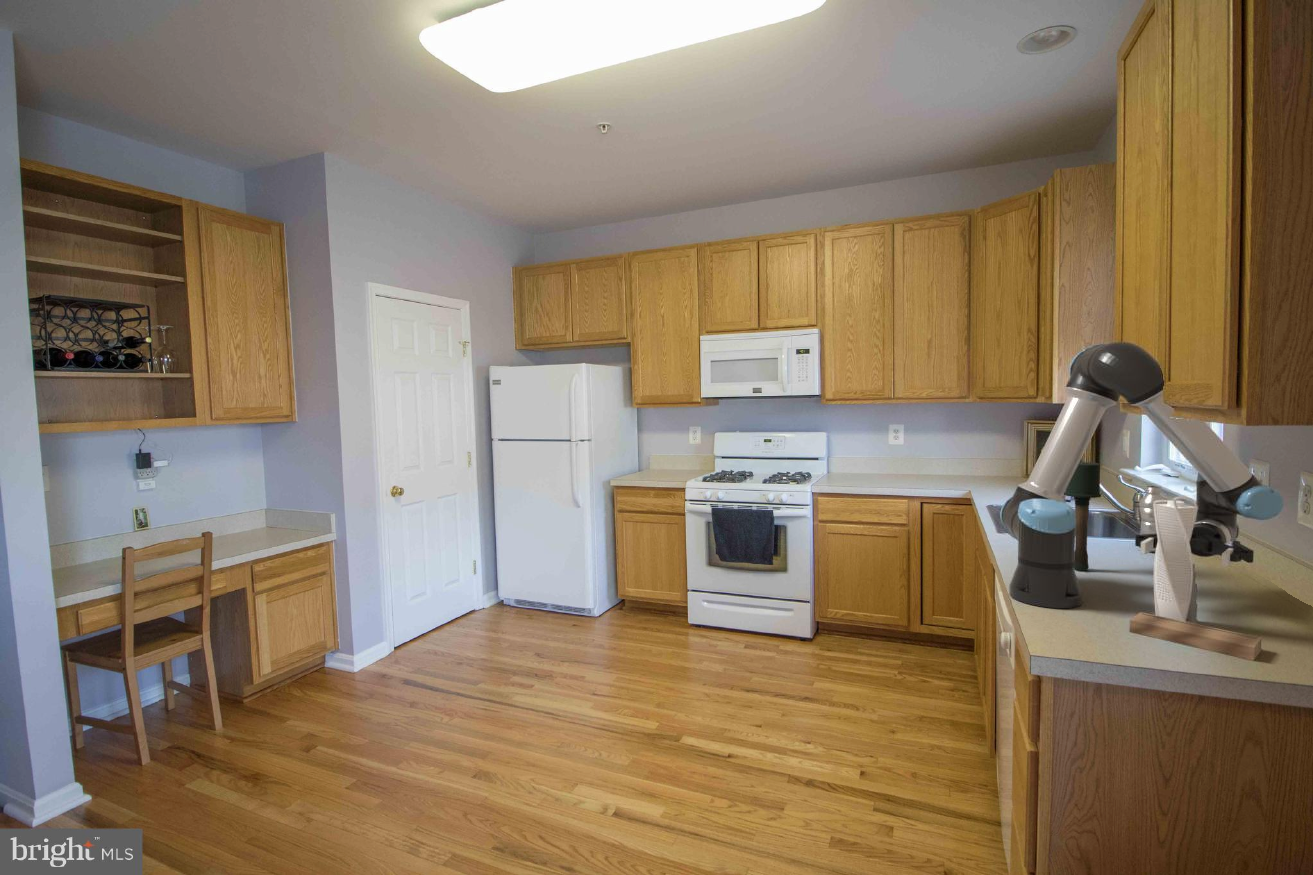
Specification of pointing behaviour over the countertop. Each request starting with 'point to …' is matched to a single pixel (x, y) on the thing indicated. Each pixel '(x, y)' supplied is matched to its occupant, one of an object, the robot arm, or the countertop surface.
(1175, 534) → the skyscraper
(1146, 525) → the ribbed metallic bottle
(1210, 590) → the countertop surface
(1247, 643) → the board
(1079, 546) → the stick grenade
